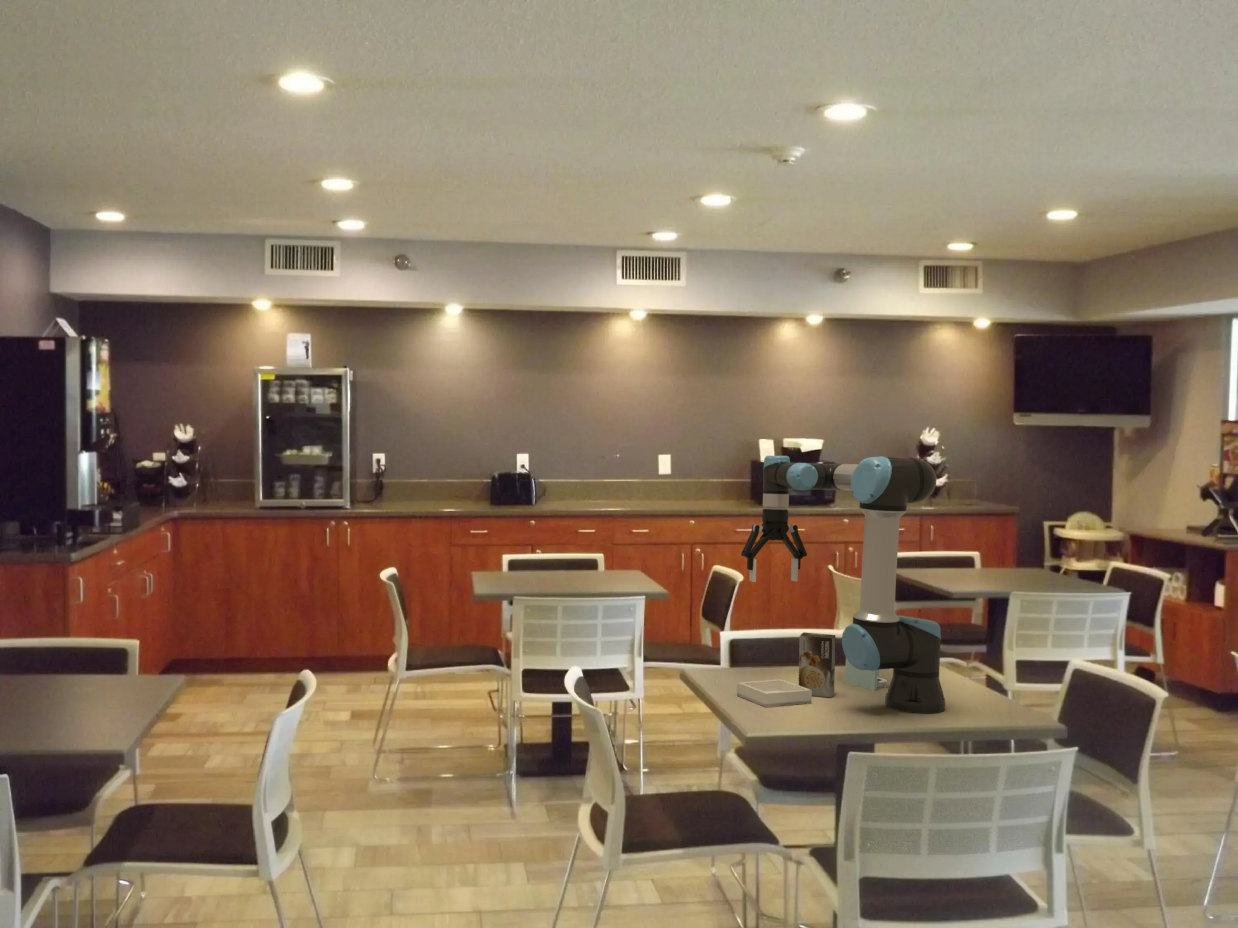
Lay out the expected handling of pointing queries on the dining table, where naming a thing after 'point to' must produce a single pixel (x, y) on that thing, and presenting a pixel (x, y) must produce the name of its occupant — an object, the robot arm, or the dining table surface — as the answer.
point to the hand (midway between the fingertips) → (773, 581)
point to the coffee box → (817, 663)
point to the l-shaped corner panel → (863, 677)
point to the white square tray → (774, 693)
